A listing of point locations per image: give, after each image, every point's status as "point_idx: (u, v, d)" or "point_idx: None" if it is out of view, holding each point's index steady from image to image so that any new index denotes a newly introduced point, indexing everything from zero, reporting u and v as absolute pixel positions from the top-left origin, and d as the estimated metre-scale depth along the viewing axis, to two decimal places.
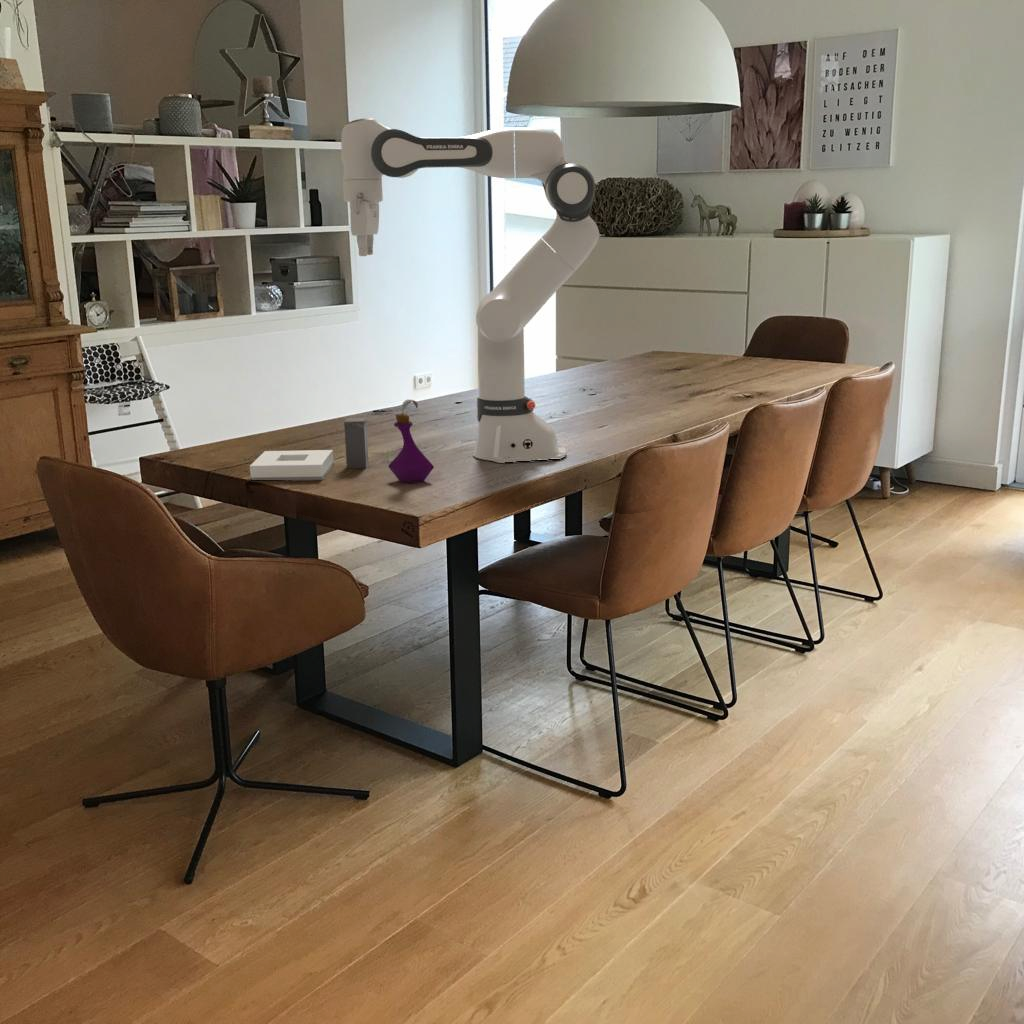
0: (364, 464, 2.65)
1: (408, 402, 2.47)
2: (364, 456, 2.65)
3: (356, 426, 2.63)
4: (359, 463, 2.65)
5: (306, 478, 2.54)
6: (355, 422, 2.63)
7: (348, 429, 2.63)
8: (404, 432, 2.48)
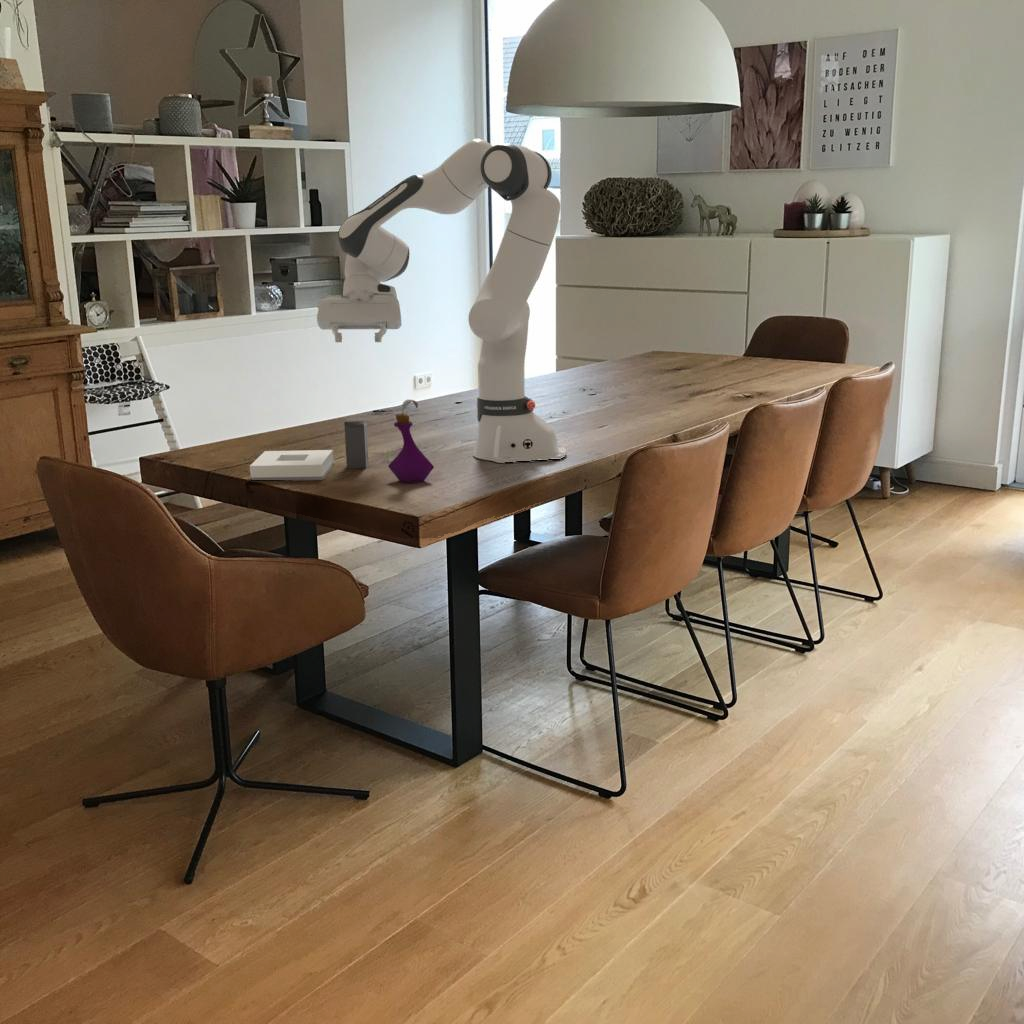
0: (364, 464, 2.65)
1: (408, 402, 2.47)
2: (364, 456, 2.65)
3: (356, 426, 2.63)
4: (359, 463, 2.65)
5: (306, 478, 2.54)
6: (355, 422, 2.63)
7: (349, 429, 2.63)
8: (404, 432, 2.48)
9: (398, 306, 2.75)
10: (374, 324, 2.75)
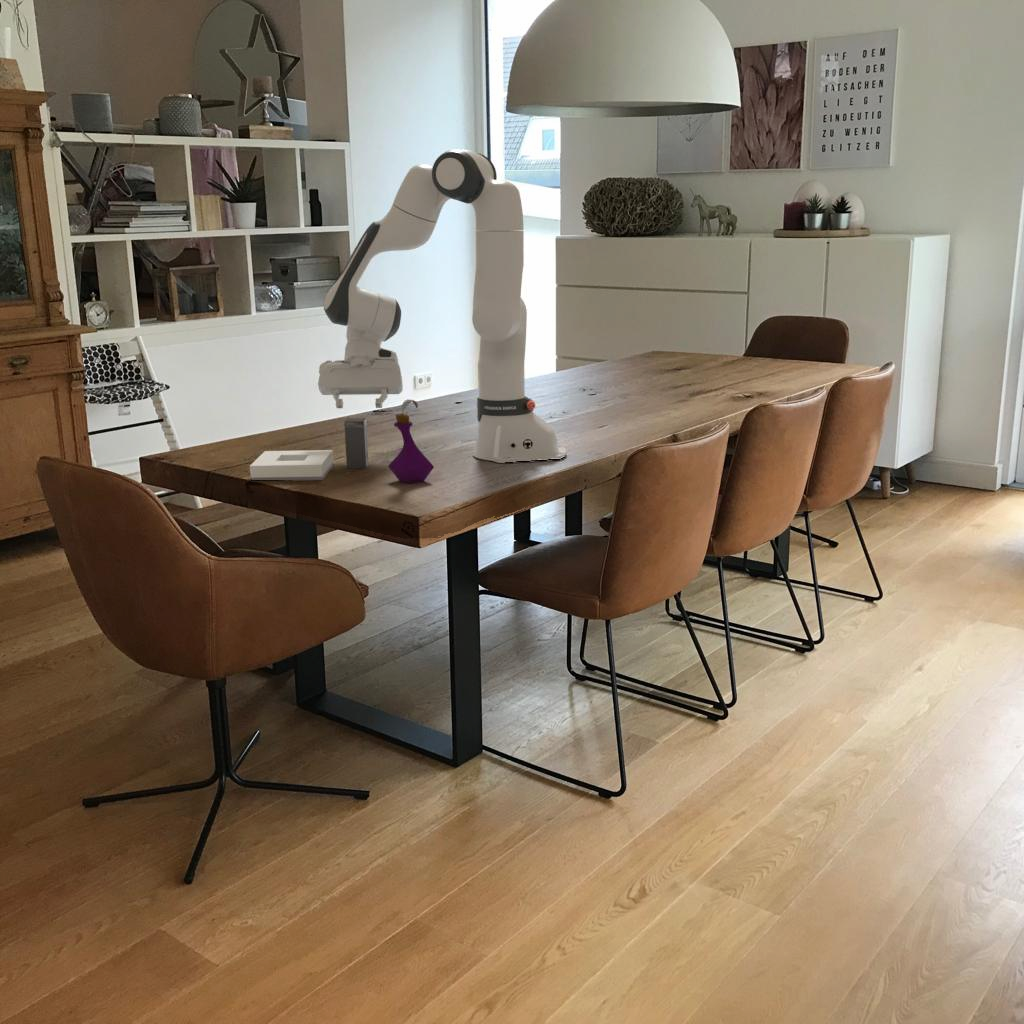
0: (364, 464, 2.65)
1: (408, 402, 2.47)
2: (364, 456, 2.65)
3: (356, 426, 2.63)
4: (359, 463, 2.65)
5: (306, 478, 2.54)
6: (355, 422, 2.63)
7: (349, 429, 2.63)
8: (404, 432, 2.48)
9: (399, 371, 2.75)
10: (375, 389, 2.75)
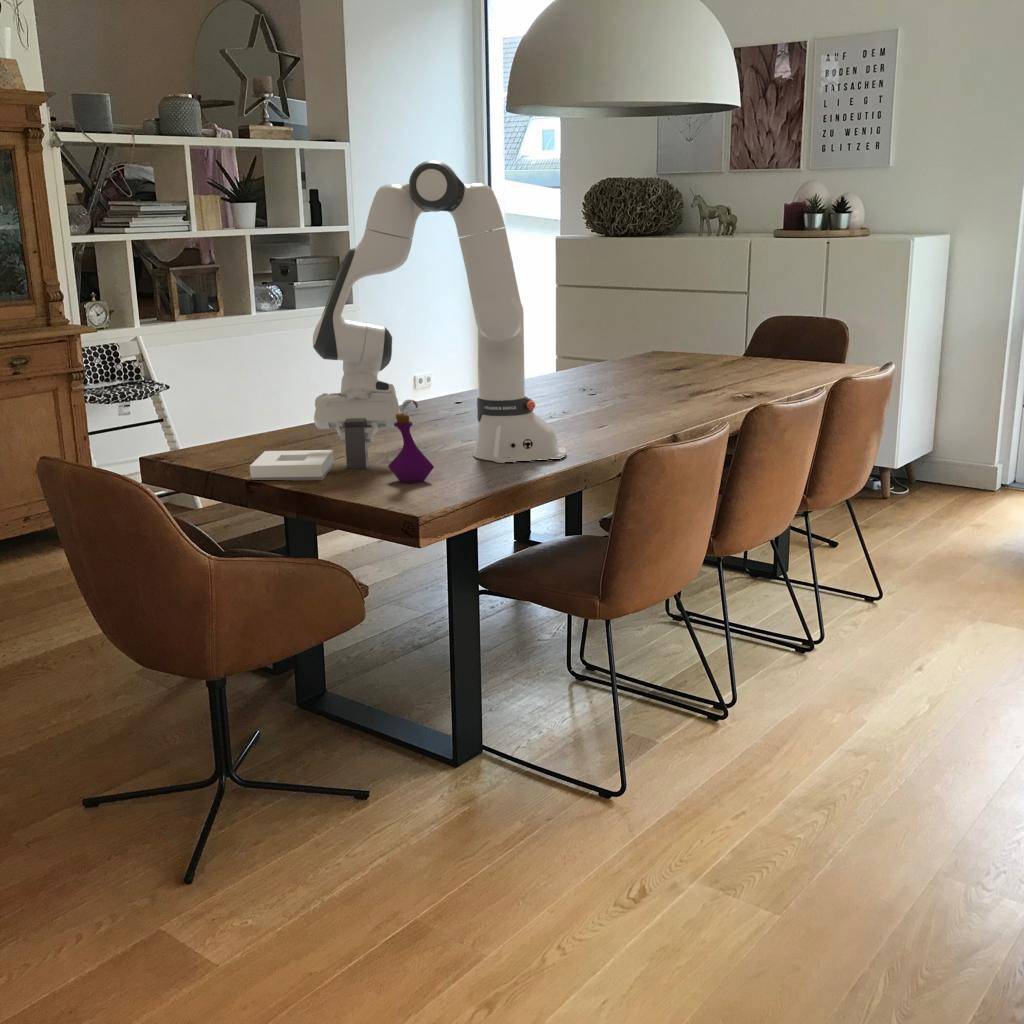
0: (364, 464, 2.65)
1: (408, 402, 2.47)
2: (364, 456, 2.65)
3: (356, 426, 2.63)
4: (359, 463, 2.65)
5: (306, 478, 2.54)
6: (355, 422, 2.63)
7: (349, 429, 2.63)
8: (404, 432, 2.48)
9: (397, 404, 2.68)
10: None
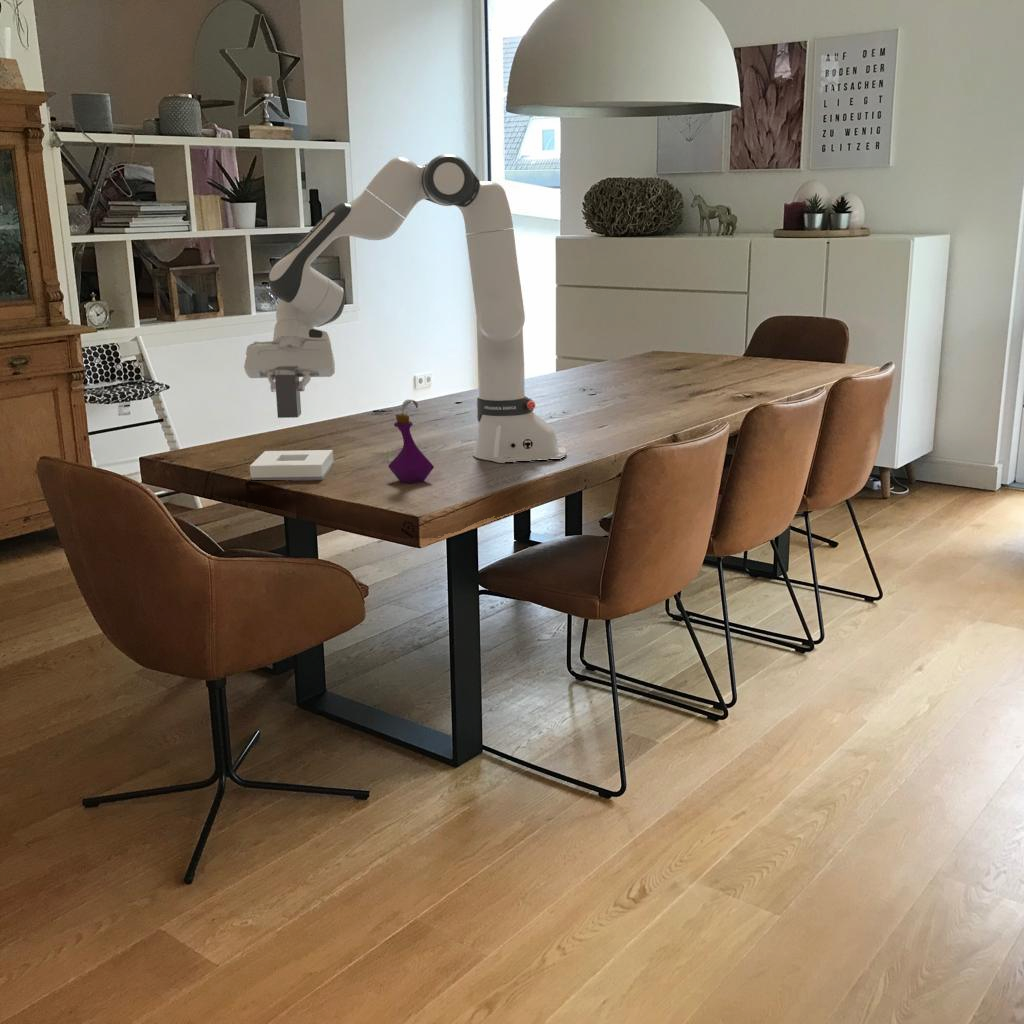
0: (296, 413, 2.56)
1: (408, 402, 2.47)
2: (295, 405, 2.56)
3: (287, 374, 2.54)
4: (290, 412, 2.56)
5: (306, 478, 2.54)
6: (286, 369, 2.54)
7: (279, 377, 2.54)
8: (404, 432, 2.48)
9: (330, 352, 2.59)
10: None
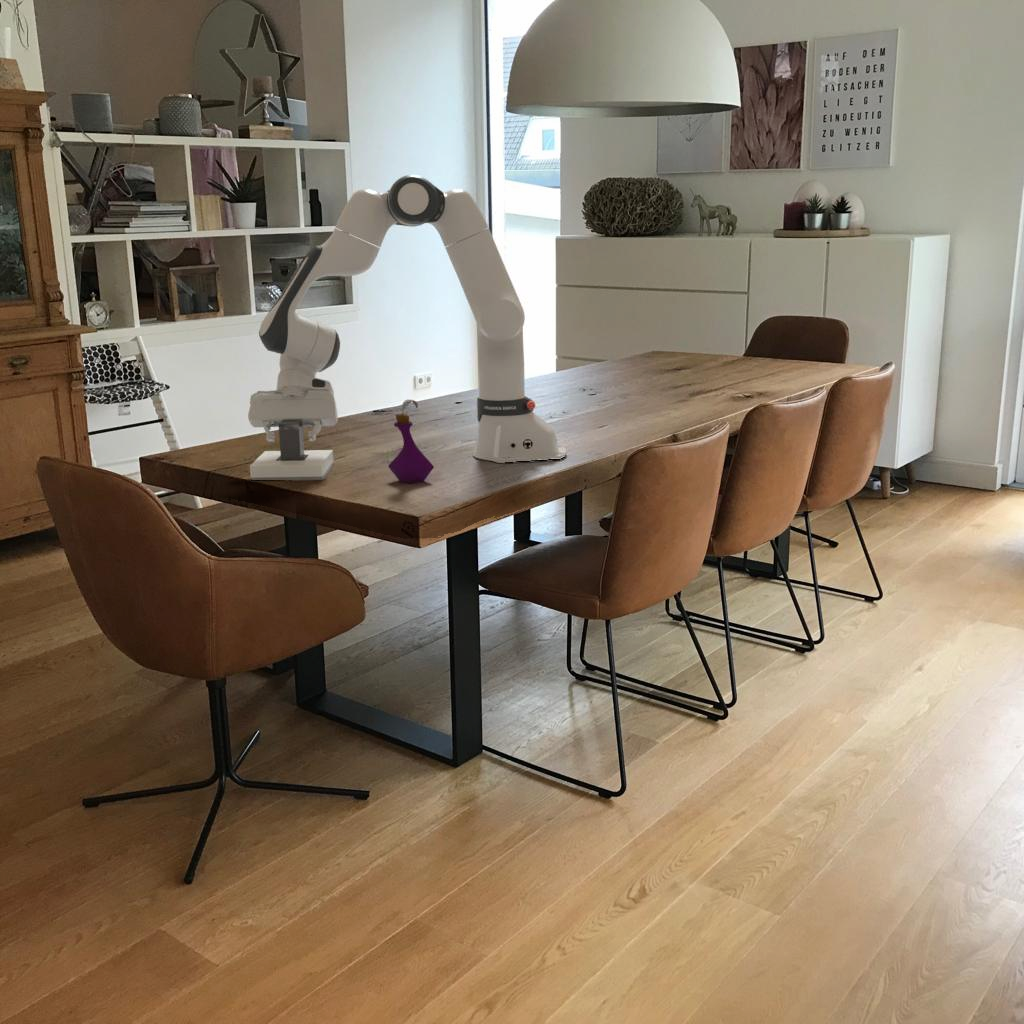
0: None
1: (408, 402, 2.47)
2: (299, 459, 2.59)
3: (291, 428, 2.57)
4: None
5: (306, 478, 2.54)
6: (289, 424, 2.57)
7: (283, 431, 2.57)
8: (404, 432, 2.48)
9: (333, 402, 2.62)
10: (308, 421, 2.63)
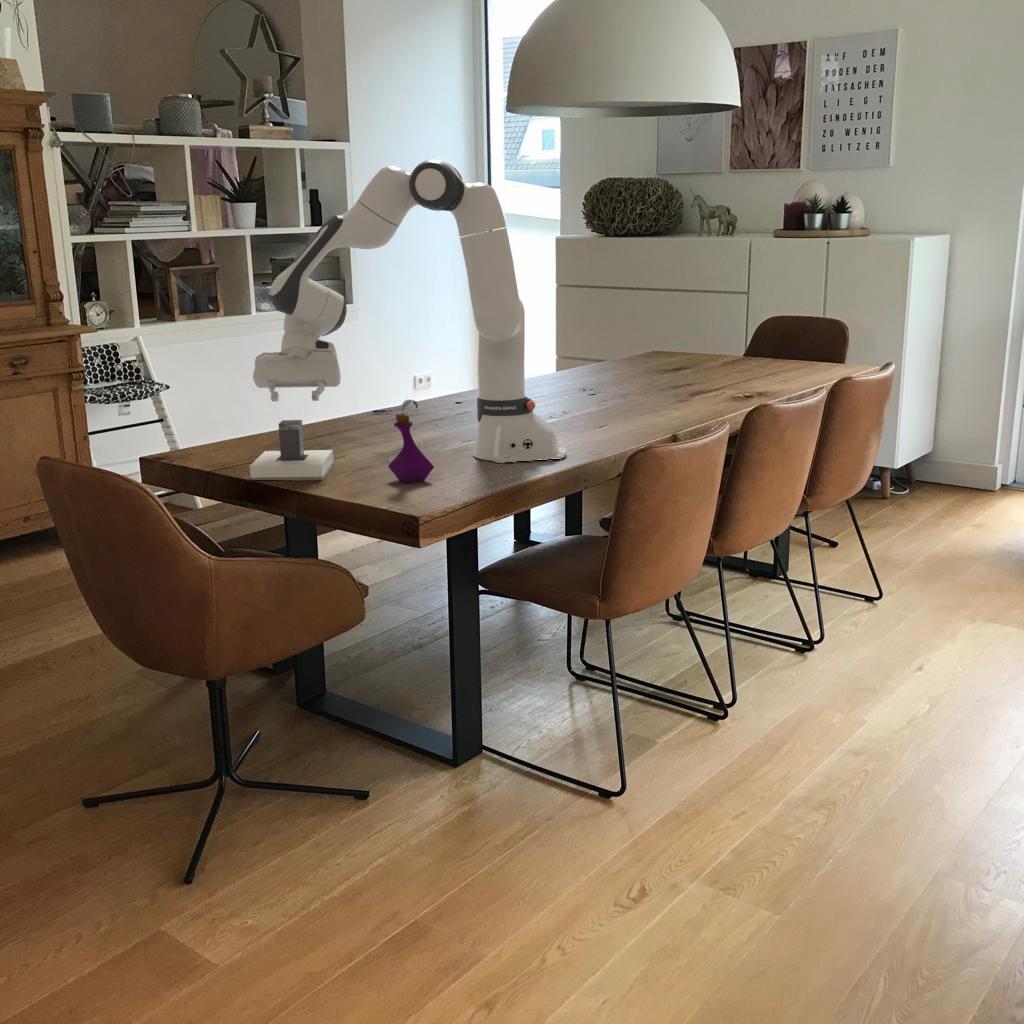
0: None
1: (408, 402, 2.47)
2: (299, 459, 2.59)
3: (291, 428, 2.57)
4: None
5: (306, 478, 2.54)
6: (289, 424, 2.57)
7: (283, 431, 2.57)
8: (404, 432, 2.48)
9: (336, 363, 2.67)
10: (312, 382, 2.68)
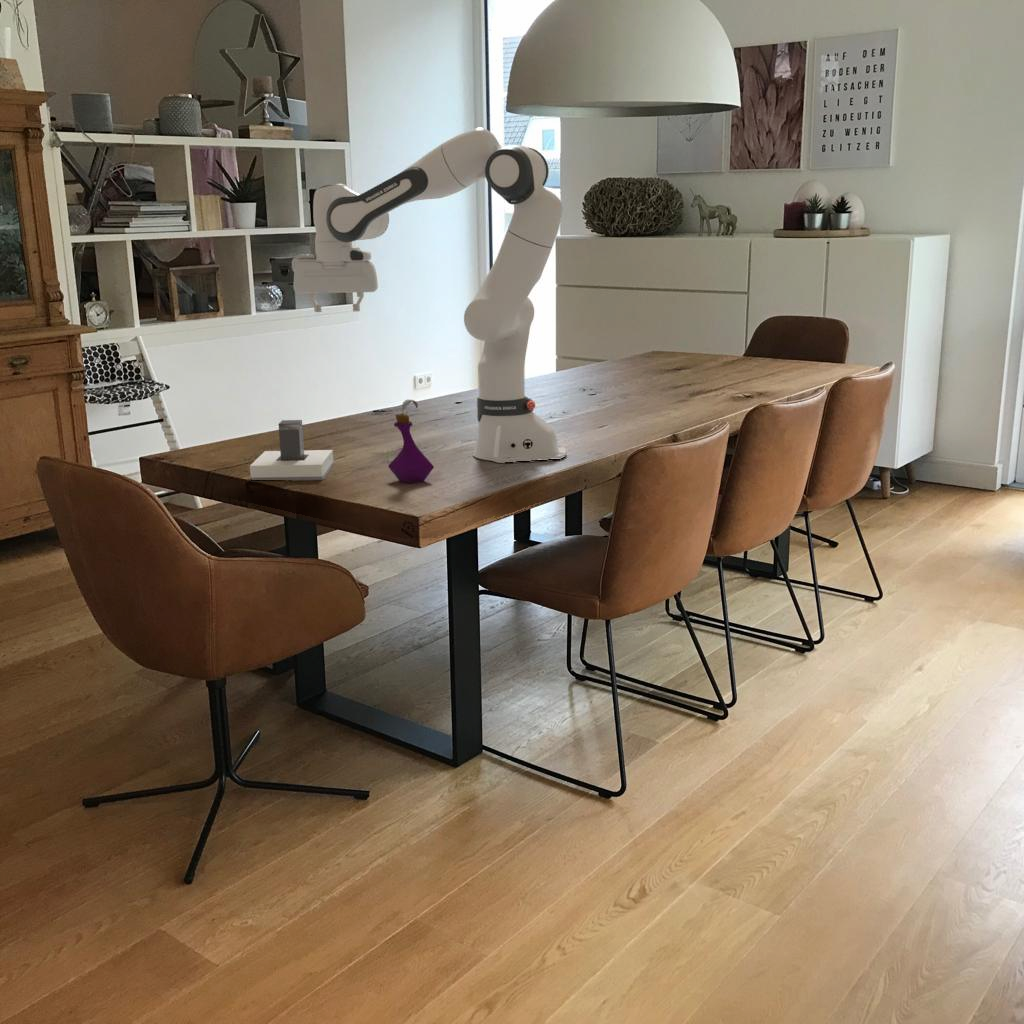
0: None
1: (408, 402, 2.47)
2: (299, 459, 2.59)
3: (291, 428, 2.57)
4: None
5: (306, 478, 2.54)
6: (289, 424, 2.57)
7: (283, 431, 2.57)
8: (404, 432, 2.48)
9: (373, 275, 2.75)
10: None
